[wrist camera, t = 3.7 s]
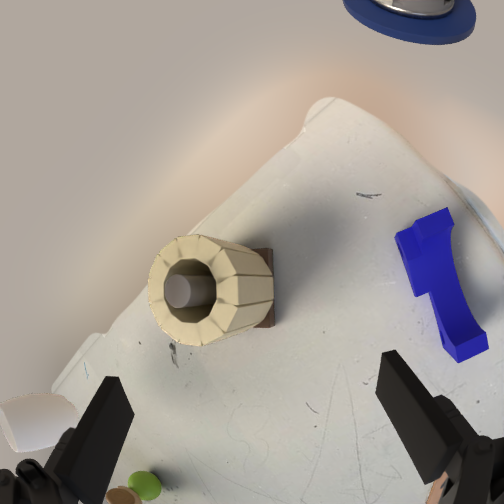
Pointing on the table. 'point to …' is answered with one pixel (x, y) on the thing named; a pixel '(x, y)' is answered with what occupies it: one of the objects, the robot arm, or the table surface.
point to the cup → (36, 420)
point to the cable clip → (441, 283)
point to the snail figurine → (136, 489)
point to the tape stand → (209, 289)
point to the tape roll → (227, 285)
